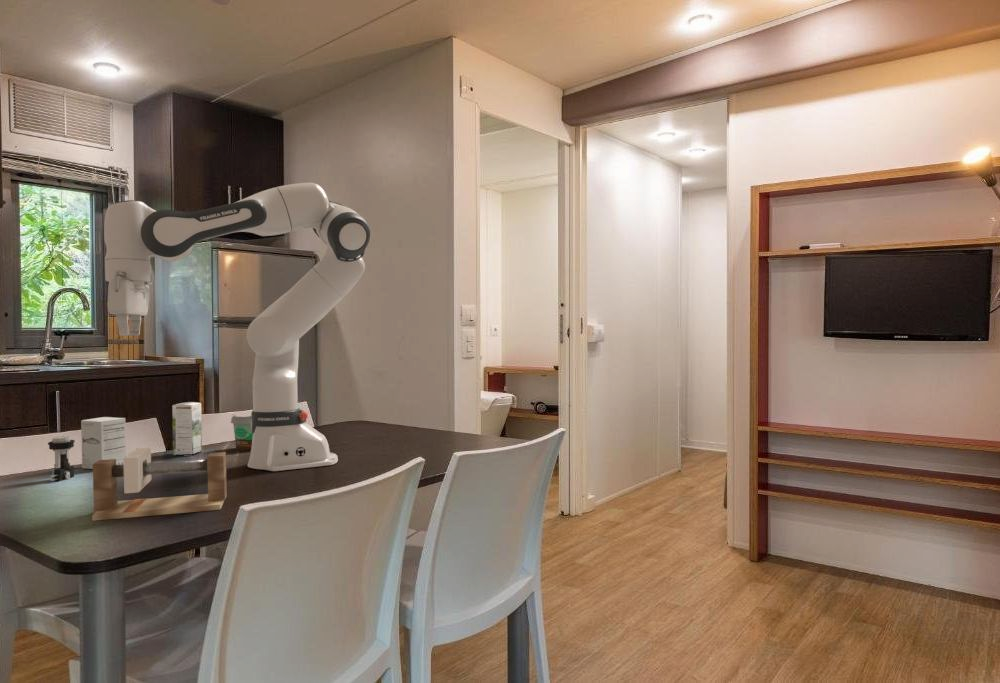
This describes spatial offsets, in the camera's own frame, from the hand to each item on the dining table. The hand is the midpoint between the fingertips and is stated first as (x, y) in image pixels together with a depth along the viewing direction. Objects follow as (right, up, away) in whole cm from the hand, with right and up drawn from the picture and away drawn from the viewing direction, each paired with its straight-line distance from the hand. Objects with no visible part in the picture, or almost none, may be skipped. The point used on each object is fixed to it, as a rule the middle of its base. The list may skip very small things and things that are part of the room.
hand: (129, 335), depth 148 cm
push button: (-22, -35, +10) cm, 42 cm away
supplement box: (-20, -34, +24) cm, 46 cm away
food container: (+9, -33, +46) cm, 58 cm away
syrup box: (-6, -34, +40) cm, 53 cm away
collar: (+12, -30, -19) cm, 37 cm away
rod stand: (+16, -34, -18) cm, 42 cm away
